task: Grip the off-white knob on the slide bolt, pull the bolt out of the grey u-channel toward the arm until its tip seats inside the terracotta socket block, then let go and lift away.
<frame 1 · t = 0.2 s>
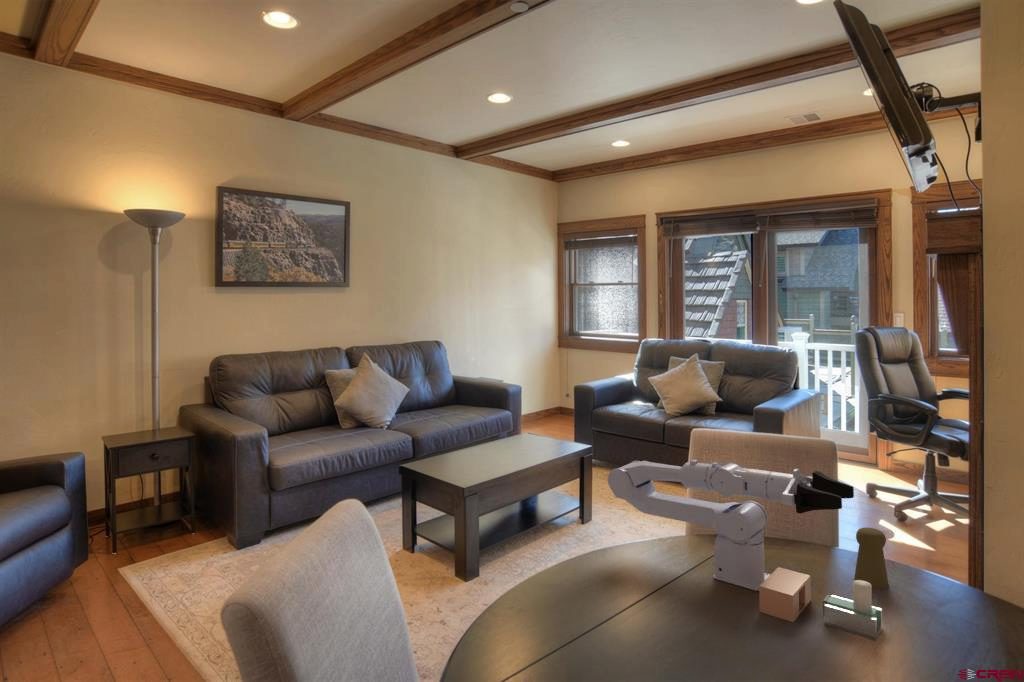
hand: (847, 497, 109), 21 cm above the table, tool horizontal, fingers open, 7 cm apart
slide bolt: (849, 600, 105), point 5 cm above the table, slide at 0.0 cm
grey u-channel: (853, 626, 105), on the table
socket block: (785, 605, 113), on the table
cork: (871, 583, 121), on the table
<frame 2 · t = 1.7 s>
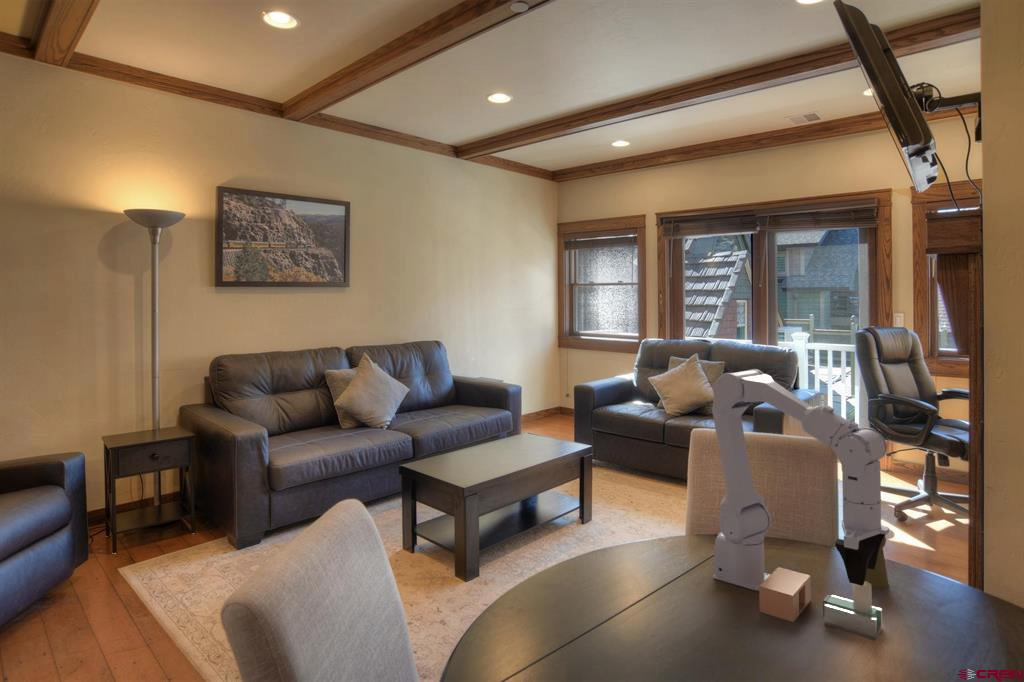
hand: (862, 575, 103), 10 cm above the table, tool pointing down, fingers open, 7 cm apart
nothing on the table moved.
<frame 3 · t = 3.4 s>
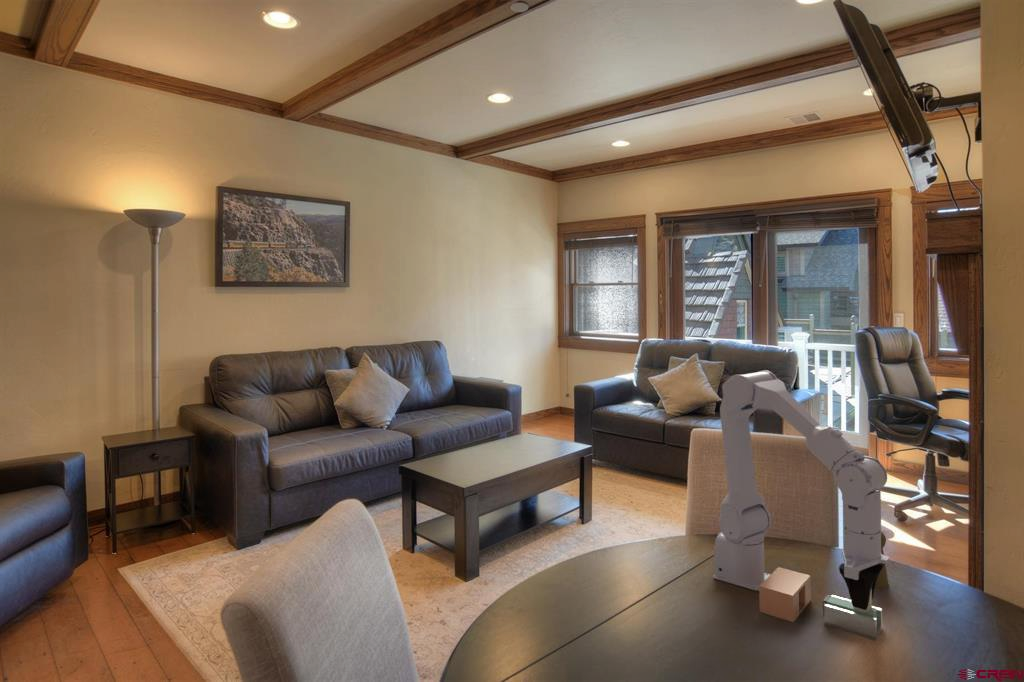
hand: (862, 603, 104), 5 cm above the table, tool pointing down, fingers closed on slide bolt, 3 cm apart
slide bolt: (849, 600, 105), point 5 cm above the table, slide at 0.0 cm, touching gripper
everything else where it was.
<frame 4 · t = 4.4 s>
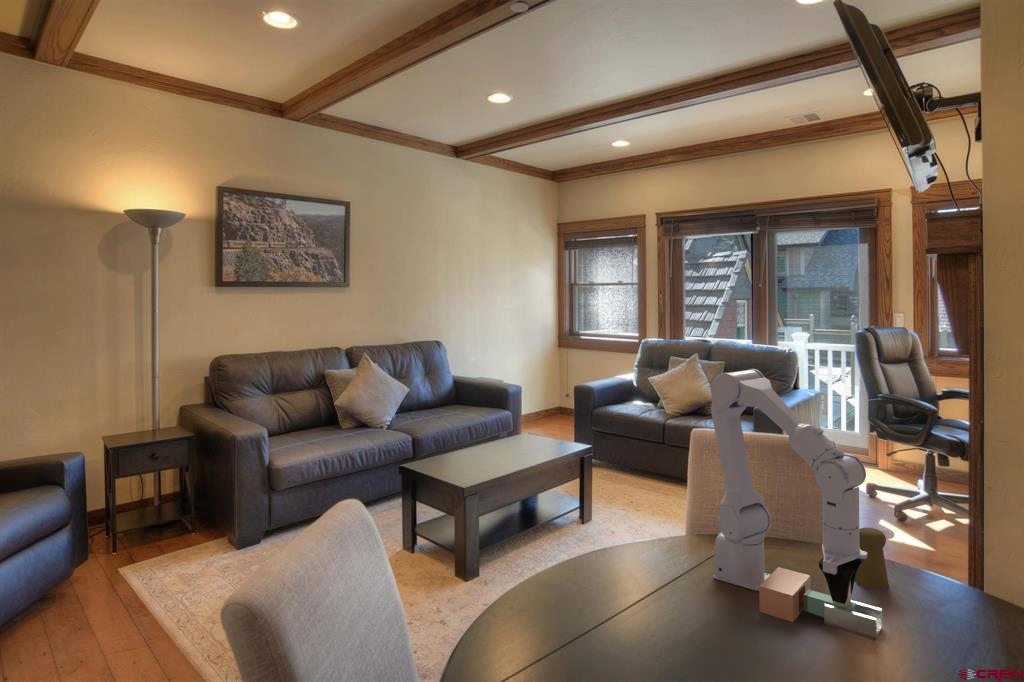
hand: (841, 598, 106), 5 cm above the table, tool pointing down, fingers closed on slide bolt, 3 cm apart
slide bolt: (829, 595, 107), point 5 cm above the table, slide at 3.3 cm, touching gripper
everything else where it was.
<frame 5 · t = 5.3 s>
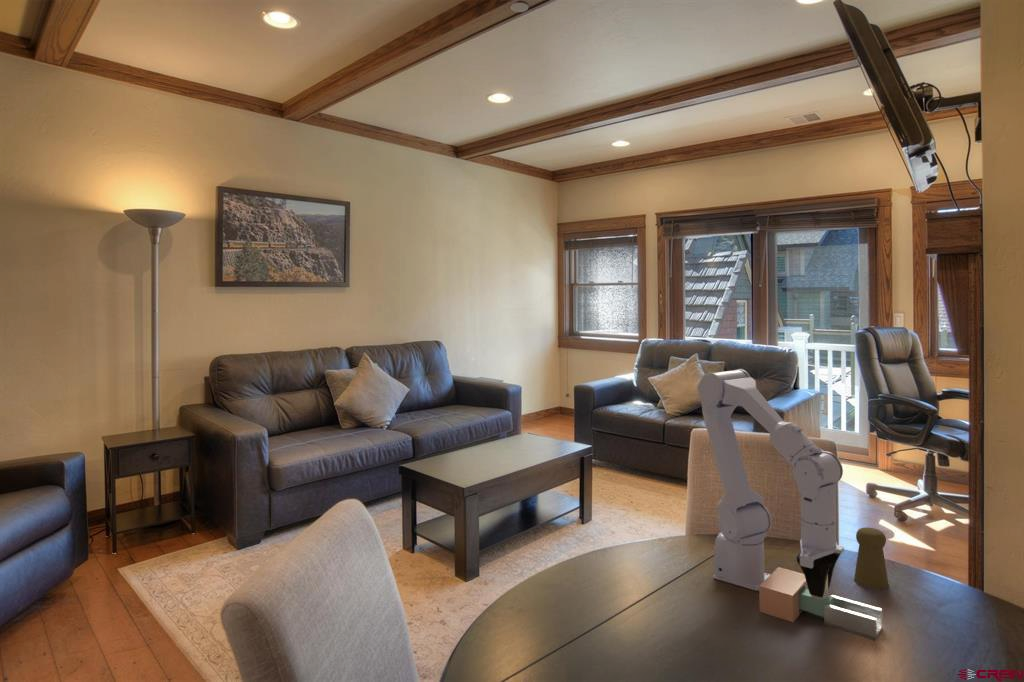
hand: (819, 591, 109), 5 cm above the table, tool pointing down, fingers closed on slide bolt, 3 cm apart
slide bolt: (807, 589, 110), point 5 cm above the table, slide at 7.0 cm, touching gripper
everything else where it was.
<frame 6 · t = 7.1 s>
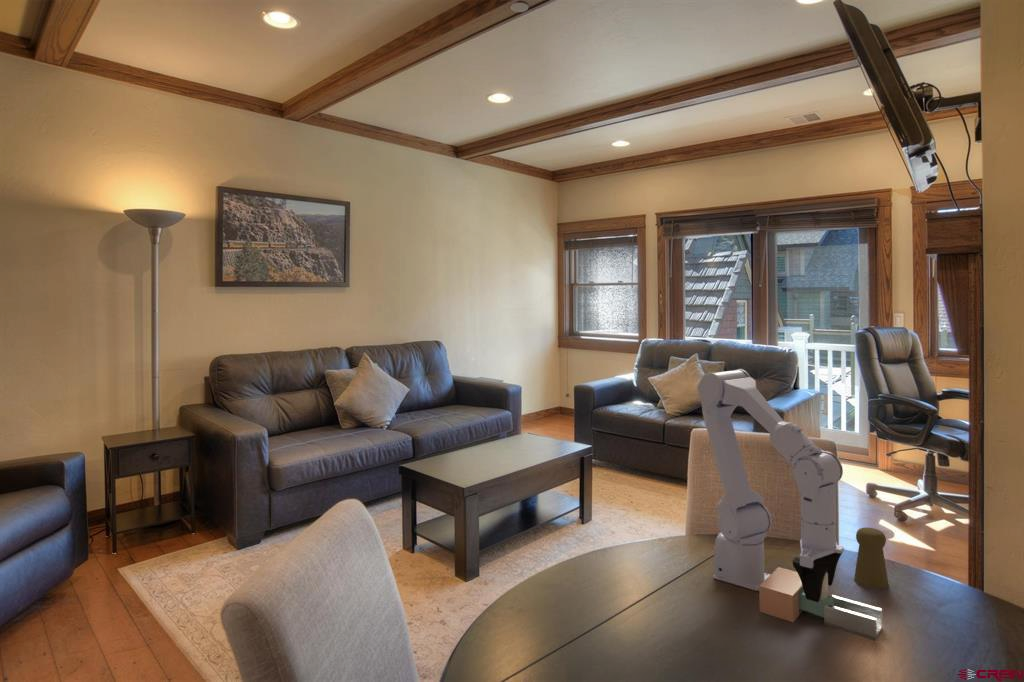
hand: (819, 591, 109), 5 cm above the table, tool pointing down, fingers open, 7 cm apart
slide bolt: (807, 589, 110), point 5 cm above the table, slide at 7.0 cm
everything else where it was.
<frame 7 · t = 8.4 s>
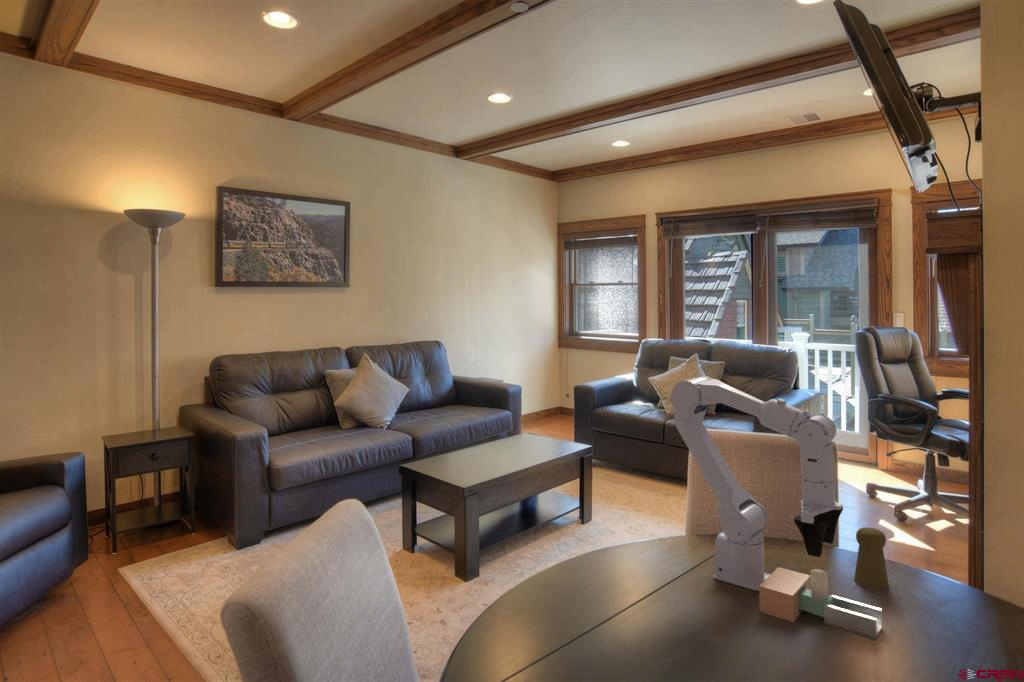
hand: (820, 548, 113), 10 cm above the table, tool pointing down, fingers open, 7 cm apart
nothing on the table moved.
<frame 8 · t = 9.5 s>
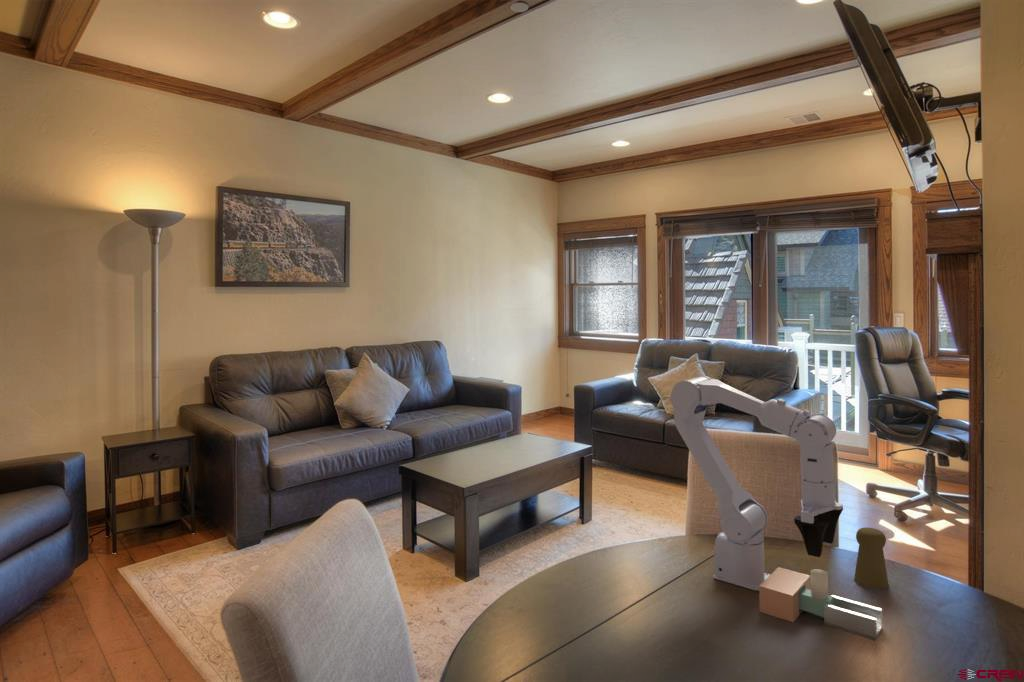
hand: (820, 548, 113), 10 cm above the table, tool pointing down, fingers open, 7 cm apart
nothing on the table moved.
at the end: slide bolt slide at 7.0 cm; the gripper is holding nothing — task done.
